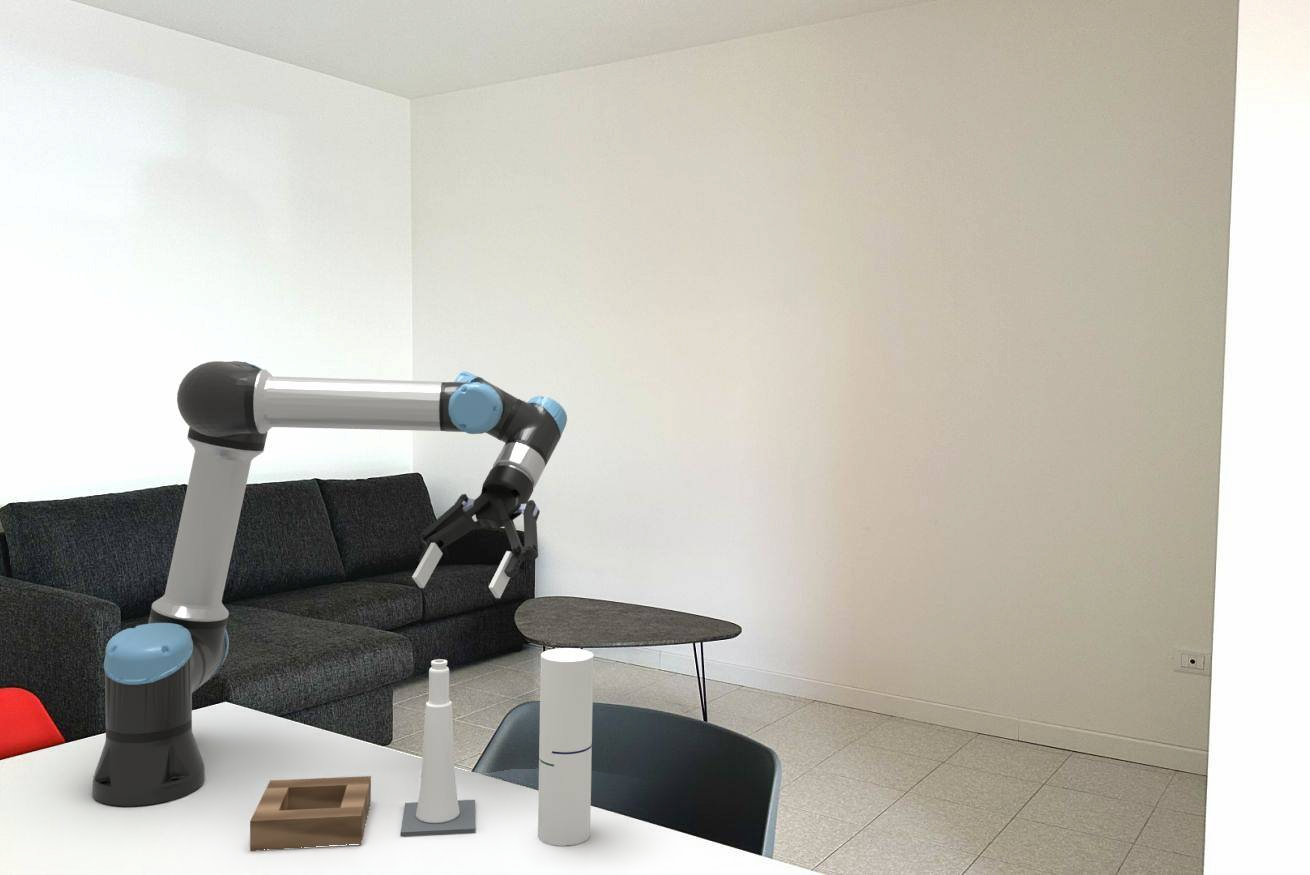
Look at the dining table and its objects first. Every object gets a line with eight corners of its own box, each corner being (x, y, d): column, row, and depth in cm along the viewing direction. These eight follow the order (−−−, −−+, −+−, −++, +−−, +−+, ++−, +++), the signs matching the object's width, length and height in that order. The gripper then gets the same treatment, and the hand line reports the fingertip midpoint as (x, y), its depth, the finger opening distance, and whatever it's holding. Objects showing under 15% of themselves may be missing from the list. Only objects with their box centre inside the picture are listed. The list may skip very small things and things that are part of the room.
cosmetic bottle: (444, 826, 145) (445, 669, 144) (407, 819, 147) (408, 663, 146) (467, 810, 151) (469, 658, 149) (431, 803, 153) (432, 653, 152)
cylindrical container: (582, 848, 141) (585, 663, 139) (530, 842, 142) (533, 659, 141) (595, 826, 148) (599, 650, 146) (546, 821, 149) (549, 646, 148)
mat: (405, 806, 153) (405, 802, 153) (475, 803, 155) (475, 799, 155) (400, 836, 143) (400, 832, 143) (475, 832, 145) (475, 828, 145)
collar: (270, 807, 152) (270, 780, 151) (370, 802, 154) (370, 776, 154) (250, 851, 138) (250, 821, 138) (360, 845, 140) (361, 815, 140)
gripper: (589, 499, 165) (537, 612, 153) (457, 488, 176) (398, 592, 163) (573, 467, 160) (518, 581, 148) (439, 458, 171) (376, 564, 158)
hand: (455, 587), depth 155 cm, fingers open, 13 cm apart
